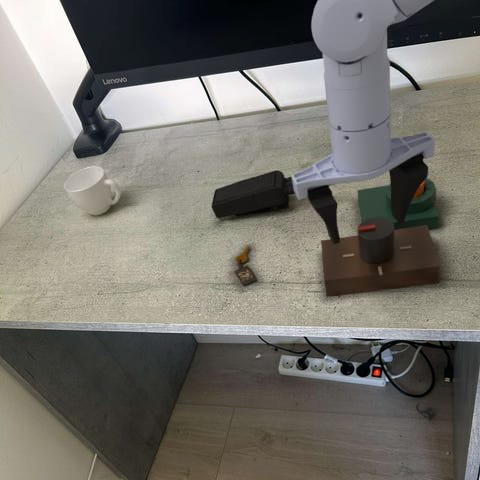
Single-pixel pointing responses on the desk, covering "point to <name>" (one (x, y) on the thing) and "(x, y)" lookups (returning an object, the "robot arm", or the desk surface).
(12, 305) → the desk surface
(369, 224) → the knob
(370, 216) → the button block
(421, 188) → the button
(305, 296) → the desk surface
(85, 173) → the cup
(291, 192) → the walkie-talkie
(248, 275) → the key tag
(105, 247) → the desk surface
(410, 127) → the desk surface
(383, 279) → the lock panel
